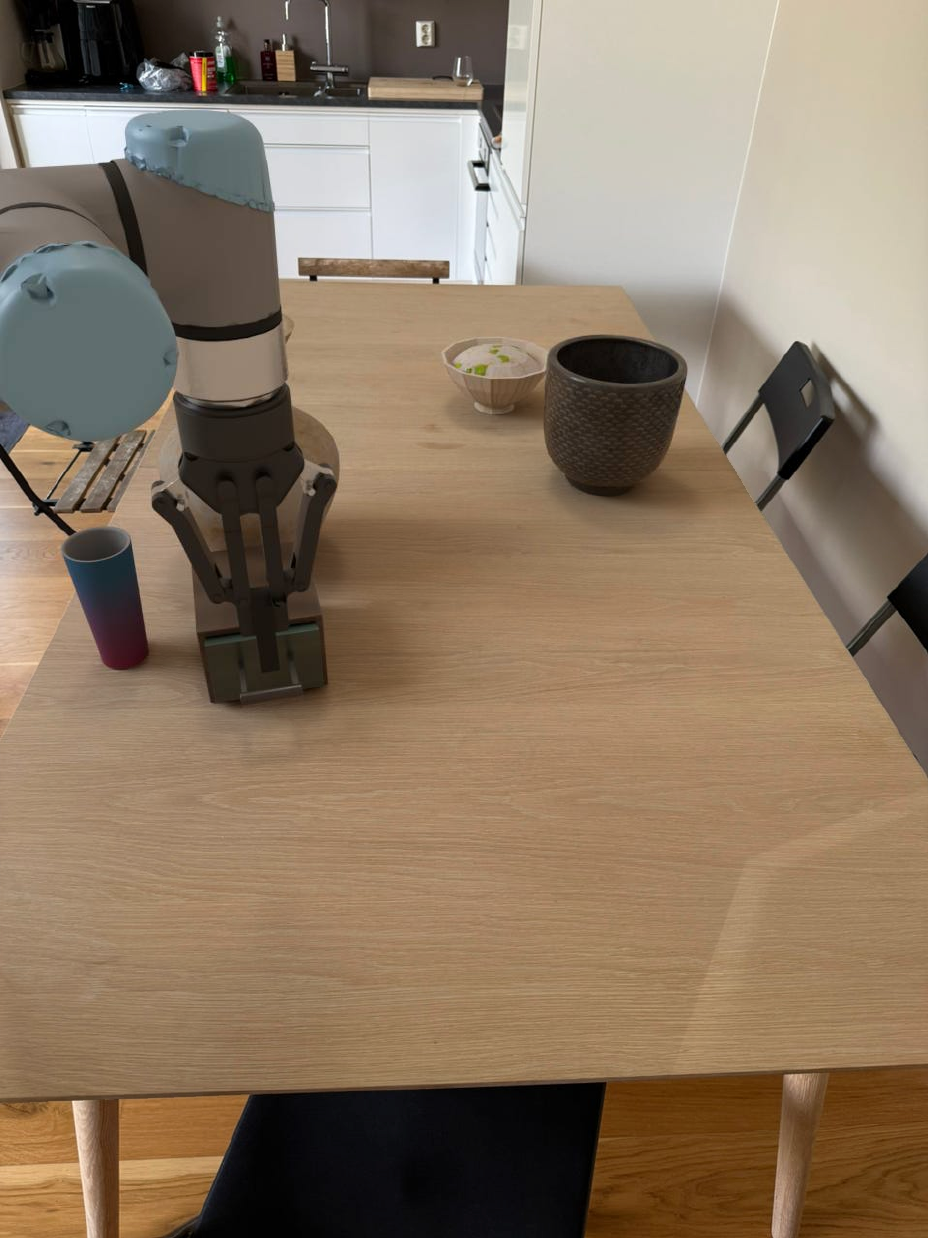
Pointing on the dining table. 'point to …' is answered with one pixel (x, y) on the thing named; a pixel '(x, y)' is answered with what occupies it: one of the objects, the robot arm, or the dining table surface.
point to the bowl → (495, 370)
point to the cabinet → (224, 615)
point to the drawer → (241, 669)
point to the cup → (108, 593)
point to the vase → (314, 449)
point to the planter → (611, 409)
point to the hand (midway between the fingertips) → (269, 661)
